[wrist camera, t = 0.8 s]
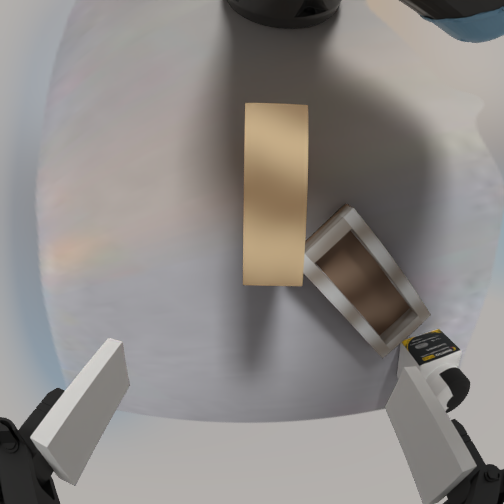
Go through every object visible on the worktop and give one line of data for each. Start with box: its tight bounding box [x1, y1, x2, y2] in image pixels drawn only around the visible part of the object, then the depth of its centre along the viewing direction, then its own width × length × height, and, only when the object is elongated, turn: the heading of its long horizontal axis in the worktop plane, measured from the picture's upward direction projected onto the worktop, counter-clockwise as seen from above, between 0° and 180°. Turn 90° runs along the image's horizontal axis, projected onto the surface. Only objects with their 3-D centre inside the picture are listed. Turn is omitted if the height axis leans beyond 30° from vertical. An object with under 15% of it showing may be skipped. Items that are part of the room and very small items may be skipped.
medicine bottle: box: [397, 329, 470, 413], centre depth 30 cm, size 7×7×12 cm
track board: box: [303, 204, 431, 359], centre depth 32 cm, size 18×9×4 cm, turn 44°
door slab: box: [243, 103, 308, 286], centre depth 25 cm, size 12×4×14 cm, turn 0°
